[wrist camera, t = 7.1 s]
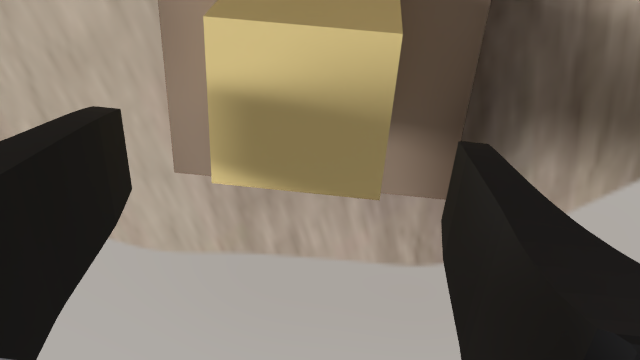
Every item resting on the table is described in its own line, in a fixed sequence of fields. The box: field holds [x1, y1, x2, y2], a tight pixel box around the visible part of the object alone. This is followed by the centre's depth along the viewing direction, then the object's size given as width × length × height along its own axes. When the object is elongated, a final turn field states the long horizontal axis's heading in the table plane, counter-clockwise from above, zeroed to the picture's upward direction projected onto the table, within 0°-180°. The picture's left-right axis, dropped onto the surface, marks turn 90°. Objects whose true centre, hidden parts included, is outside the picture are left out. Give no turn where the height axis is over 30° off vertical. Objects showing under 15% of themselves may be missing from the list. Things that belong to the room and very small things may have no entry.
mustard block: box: [203, 0, 403, 200], centre depth 16 cm, size 4×4×5 cm
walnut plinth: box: [158, 0, 491, 200], centre depth 19 cm, size 10×10×2 cm
